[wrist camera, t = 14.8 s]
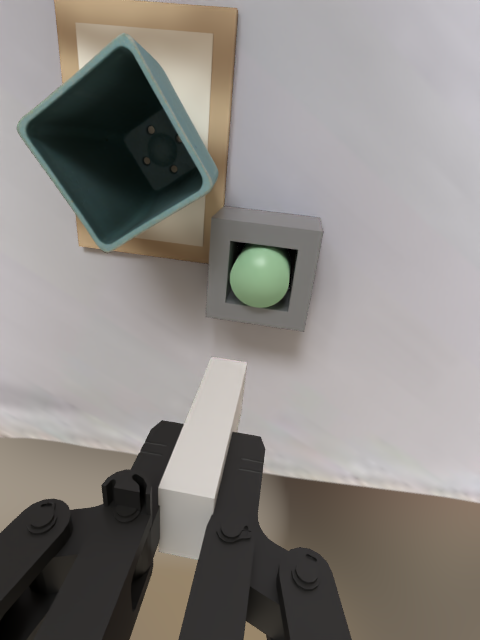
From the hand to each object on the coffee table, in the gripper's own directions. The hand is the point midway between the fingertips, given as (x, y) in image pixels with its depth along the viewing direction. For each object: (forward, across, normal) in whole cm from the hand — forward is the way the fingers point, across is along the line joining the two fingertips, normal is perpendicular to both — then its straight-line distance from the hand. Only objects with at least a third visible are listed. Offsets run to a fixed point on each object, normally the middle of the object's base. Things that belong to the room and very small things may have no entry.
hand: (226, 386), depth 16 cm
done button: (+18, 0, 0) cm, 18 cm away
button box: (+19, 0, 0) cm, 19 cm away
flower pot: (+19, -9, +8) cm, 22 cm away
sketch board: (+19, -10, +8) cm, 23 cm away
